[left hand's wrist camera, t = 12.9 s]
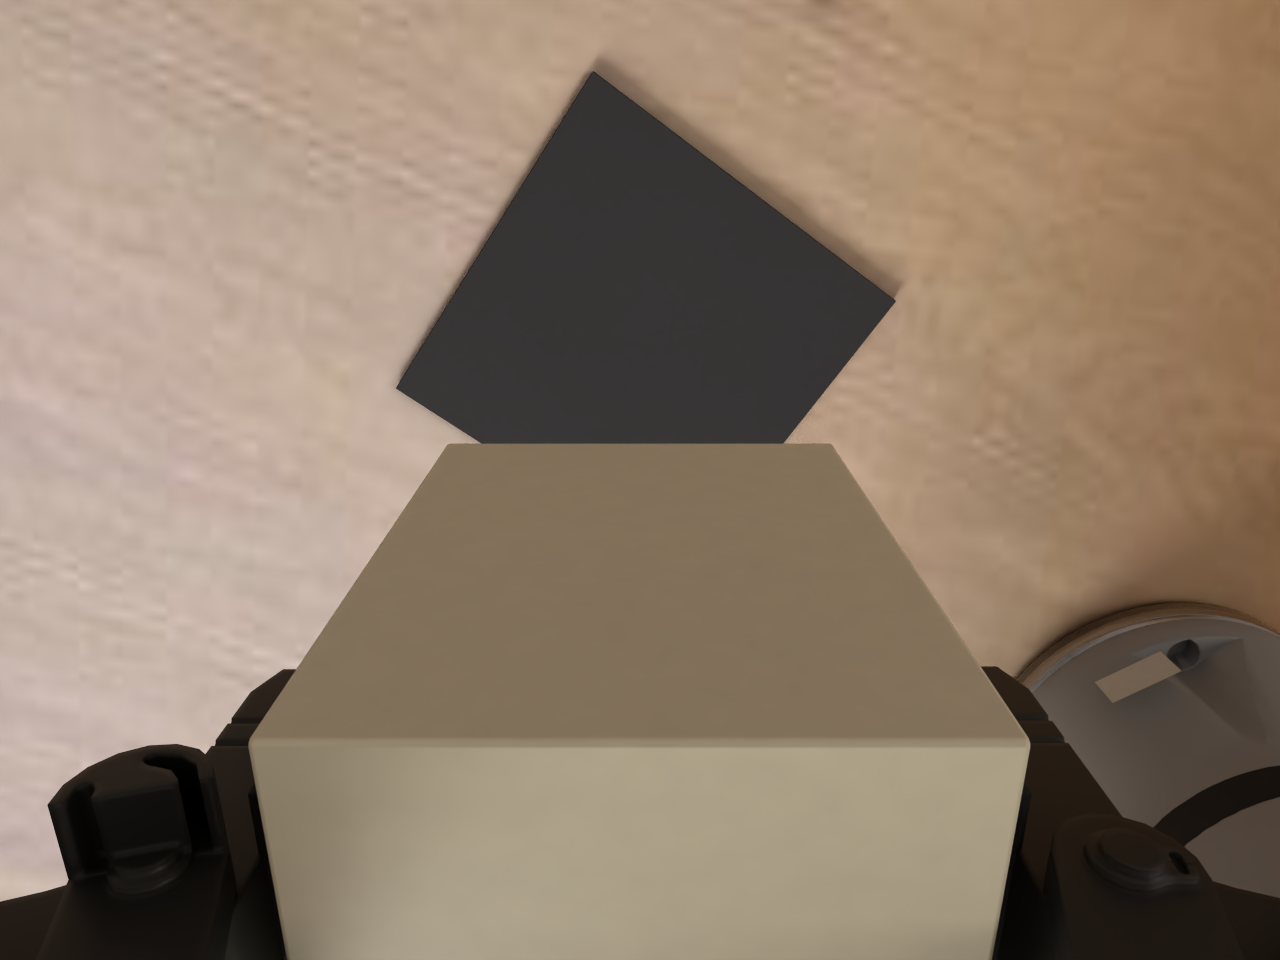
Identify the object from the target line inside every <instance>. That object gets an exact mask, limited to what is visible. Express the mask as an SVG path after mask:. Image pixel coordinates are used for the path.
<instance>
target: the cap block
mask: <svg viewBox="0 0 1280 960" xmlns="http://www.w3.org/2000/svg"><path fill="white" fill-rule="evenodd" d="M1029 751H1030V741H1029V738H1028V736H1027V735H1026V733H1025V732H1024V730H1023V729H1022V728H1021V726H1020V725H1019V723H1018V722H1017V720H1016V719H1015V717H1014V716H1013V714H1012V713H1011V711H1010V710H1009V708H1008V707H1007V705H1006V704H1005V702H1004V701H1003V699H1002V698H1001V696H1000V695H999V693H998V692H997V690H996V689H995V687H994V686H993V684H992V683H991V681H990V680H989V678H988V677H987V675H986V674H985V672H984V671H983V669H982V668H981V666H980V665H979V663H978V662H977V660H976V659H975V657H974V656H973V654H972V653H971V651H970V650H969V648H968V647H967V645H966V644H965V642H964V641H963V640H962V638H961V637H960V635H959V634H958V632H957V631H956V629H955V628H954V626H953V625H952V623H951V622H950V620H949V619H948V617H947V616H946V614H945V613H944V611H943V610H942V608H941V607H940V605H939V604H938V602H937V601H936V599H935V598H934V596H933V595H932V593H931V592H930V590H929V589H928V587H927V586H926V584H925V583H924V581H923V580H922V578H921V577H920V575H919V574H918V572H917V571H916V569H915V568H914V566H913V565H912V563H911V562H910V560H909V559H908V557H907V556H906V554H905V553H904V552H903V550H902V549H901V547H900V546H899V544H898V543H897V541H896V540H895V538H894V537H893V535H892V534H891V532H890V531H889V529H888V528H887V526H886V525H885V523H884V522H883V520H882V519H881V517H880V516H879V514H878V513H877V511H876V510H875V508H874V507H873V505H872V504H871V502H870V501H869V499H868V498H867V496H866V495H865V493H864V492H863V490H862V489H861V487H860V486H859V484H858V483H857V481H856V480H855V478H854V477H853V475H852V474H851V472H850V471H849V469H848V468H847V466H846V465H845V463H844V462H843V461H842V459H841V458H840V456H839V455H838V453H837V452H836V450H835V449H834V447H833V446H832V445H831V444H449V445H447V446H446V448H445V449H444V451H443V452H442V454H441V455H440V457H439V458H438V460H437V461H436V463H435V464H434V466H433V467H432V469H431V470H430V472H429V473H428V475H427V476H426V478H425V479H424V481H423V482H422V484H421V485H420V487H419V488H418V490H417V491H416V492H415V494H414V495H413V497H412V498H411V500H410V501H409V503H408V504H407V506H406V507H405V509H404V510H403V512H402V513H401V515H400V516H399V518H398V519H397V521H396V522H395V524H394V525H393V527H392V528H391V530H390V531H389V533H388V534H387V536H386V537H385V539H384V540H383V542H382V543H381V544H380V546H379V547H378V549H377V550H376V552H375V553H374V555H373V556H372V558H371V559H370V561H369V562H368V564H367V565H366V567H365V568H364V570H363V571H362V573H361V574H360V576H359V577H358V579H357V580H356V582H355V583H354V585H353V586H352V588H351V589H350V591H349V592H348V594H347V595H346V596H345V598H344V599H343V601H342V602H341V604H340V605H339V607H338V608H337V610H336V611H335V613H334V614H333V616H332V617H331V619H330V620H329V622H328V623H327V625H326V626H325V628H324V629H323V631H322V632H321V634H320V635H319V637H318V638H317V640H316V641H315V643H314V644H313V645H312V647H311V648H310V650H309V651H308V653H307V654H306V656H305V657H304V659H303V660H302V662H301V663H300V665H299V666H298V668H297V669H296V671H295V672H294V674H293V675H292V677H291V678H290V680H289V681H288V683H287V684H286V686H285V687H284V689H283V690H282V692H281V693H280V695H279V696H278V697H277V699H276V700H275V702H274V703H273V705H272V706H271V708H270V709H269V711H268V712H267V714H266V715H265V717H264V718H263V720H262V721H261V723H260V724H259V726H258V727H257V729H256V730H255V732H254V733H253V735H252V736H251V738H250V740H249V752H250V758H251V763H252V769H253V775H254V780H255V786H256V791H257V797H258V802H259V808H260V813H261V819H262V824H263V830H264V835H265V841H266V846H267V852H268V857H269V863H270V868H271V874H272V879H273V885H274V890H275V896H276V901H277V907H278V912H279V918H280V923H281V929H282V934H283V940H284V945H285V951H286V956H287V960H992V956H993V950H994V945H995V939H996V934H997V928H998V923H999V917H1000V912H1001V906H1002V901H1003V895H1004V889H1005V884H1006V878H1007V873H1008V867H1009V862H1010V856H1011V851H1012V845H1013V840H1014V834H1015V829H1016V823H1017V818H1018V812H1019V807H1020V801H1021V796H1022V790H1023V784H1024V779H1025V773H1026V768H1027V762H1028V757H1029Z"/></svg>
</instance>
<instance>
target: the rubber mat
mask: <svg viewBox="0 0 1280 960" xmlns="http://www.w3.org/2000/svg"><path fill="white" fill-rule="evenodd" d="M894 303H895V300H894V299H893V298H891V297H890V296H889V295H887V294H886V293H885V292H884V291H882V290H881V289H880V288H878V287H877V286H876V285H874V284H873V283H872V282H870V281H869V280H868V279H866V278H865V277H864V276H862V275H861V274H860V273H858V272H857V271H856V270H855V269H853V268H852V267H851V266H849V265H848V264H847V263H845V262H844V261H843V260H841V259H840V258H839V257H837V256H836V255H835V254H833V253H832V252H831V251H830V250H828V249H827V248H826V247H824V246H823V245H822V244H820V243H819V242H818V241H816V240H815V239H814V238H812V237H811V236H810V235H808V234H807V233H806V232H804V231H803V230H802V229H801V228H799V227H798V226H797V225H795V224H794V223H793V222H791V221H790V220H789V219H787V218H786V217H785V216H783V215H782V214H781V213H779V212H778V211H777V210H776V209H774V208H773V207H772V206H770V205H769V204H768V203H766V202H765V201H764V200H762V199H761V198H760V197H758V196H757V195H756V194H754V193H753V192H752V191H750V190H749V189H748V188H747V187H745V186H744V185H743V184H741V183H740V182H739V181H737V180H736V179H735V178H733V177H732V176H731V175H729V174H728V173H727V172H725V171H724V170H723V169H721V168H720V167H719V166H718V165H716V164H715V163H714V162H712V161H711V160H710V159H708V158H707V157H706V156H704V155H703V154H702V153H700V152H699V151H698V150H696V149H695V148H694V147H693V146H691V145H690V144H689V143H687V142H686V141H685V140H683V139H682V138H681V137H679V136H678V135H677V134H675V133H674V132H673V131H671V130H670V129H669V128H667V127H666V126H665V125H664V124H662V123H661V122H660V121H658V120H657V119H656V118H654V117H653V116H652V115H650V114H649V113H648V112H646V111H645V110H644V109H642V108H641V107H640V106H639V105H637V104H636V103H635V102H633V101H632V100H631V99H629V98H628V97H627V96H625V95H624V94H623V93H621V92H620V91H619V90H617V89H616V88H615V87H613V86H612V85H611V84H610V83H608V82H607V81H606V80H604V79H603V78H602V77H600V76H599V75H598V74H596V73H595V72H592V73H591V75H590V77H589V78H588V80H587V81H586V83H585V85H584V86H583V88H582V90H581V91H580V93H579V94H578V96H577V98H576V99H575V101H574V102H573V104H572V106H571V107H570V109H569V110H568V112H567V114H566V115H565V117H564V119H563V120H562V122H561V123H560V125H559V127H558V128H557V130H556V131H555V133H554V135H553V136H552V138H551V139H550V141H549V143H548V144H547V146H546V147H545V149H544V151H543V152H542V154H541V156H540V157H539V159H538V160H537V162H536V164H535V165H534V167H533V168H532V170H531V172H530V173H529V175H528V176H527V178H526V180H525V181H524V183H523V185H522V186H521V188H520V189H519V191H518V193H517V194H516V196H515V197H514V199H513V201H512V202H511V204H510V205H509V207H508V209H507V210H506V212H505V213H504V215H503V217H502V218H501V220H500V222H499V223H498V225H497V226H496V228H495V230H494V231H493V233H492V234H491V236H490V238H489V239H488V241H487V242H486V244H485V246H484V247H483V249H482V251H481V252H480V254H479V255H478V257H477V259H476V260H475V262H474V263H473V265H472V267H471V268H470V270H469V271H468V273H467V275H466V276H465V278H464V280H463V281H462V283H461V284H460V286H459V288H458V289H457V291H456V292H455V294H454V296H453V297H452V299H451V300H450V302H449V304H448V305H447V307H446V308H445V310H444V312H443V313H442V315H441V317H440V318H439V320H438V321H437V323H436V325H435V326H434V328H433V329H432V331H431V333H430V334H429V336H428V337H427V339H426V341H425V342H424V344H423V346H422V347H421V349H420V350H419V352H418V354H417V355H416V357H415V358H414V360H413V362H412V363H411V365H410V366H409V368H408V370H407V371H406V373H405V374H404V376H403V378H402V379H401V381H400V383H399V384H398V386H397V387H396V389H398V390H399V391H401V392H402V393H404V394H405V395H407V396H409V397H410V398H412V399H413V400H415V401H416V402H418V403H419V404H421V405H423V406H424V407H426V408H427V409H429V410H430V411H432V412H433V413H435V414H437V415H438V416H440V417H441V418H443V419H444V420H446V421H448V422H449V423H451V424H452V425H454V426H455V427H457V428H458V429H460V430H462V431H463V432H465V433H466V434H468V435H469V436H471V437H472V438H474V439H476V440H477V441H479V442H480V443H482V444H783V443H784V442H785V441H786V439H787V438H788V437H789V436H790V434H791V433H792V432H793V430H794V429H795V428H796V427H797V425H798V424H799V423H800V422H801V420H802V419H803V418H804V417H805V415H806V414H807V413H808V412H809V410H810V409H811V408H812V406H813V405H814V404H815V403H816V401H817V400H818V399H819V398H820V396H821V395H822V394H823V393H824V391H825V390H826V389H827V388H828V386H829V385H830V384H831V382H832V381H833V380H834V379H835V377H836V376H837V375H838V374H839V372H840V371H841V370H842V369H843V367H844V366H845V365H846V364H847V362H848V361H849V360H850V358H851V357H852V356H853V355H854V353H855V352H856V351H857V350H858V348H859V347H860V346H861V345H862V343H863V342H864V341H865V340H866V338H867V337H868V336H869V334H870V333H871V332H872V331H873V329H874V328H875V327H876V326H877V324H878V323H879V322H880V321H881V319H882V318H883V317H884V316H885V314H886V313H887V312H888V310H889V309H890V308H891V307H892V305H893V304H894Z"/></svg>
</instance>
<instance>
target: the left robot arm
mask: <svg viewBox="0 0 1280 960" xmlns="http://www.w3.org/2000/svg"><path fill="white" fill-rule="evenodd" d="M981 668H982V669H983V671H984V672H985V674H986V675H987V677H988V678H989V680H990V681H991V683H992V684H993V686H994V687H995V689H996V690H997V692H998V693H999V695H1000V696H1001V698H1002V699H1003V701H1004V702H1005V704H1006V705H1007V707H1008V708H1009V710H1010V711H1011V713H1012V714H1013V716H1014V717H1015V719H1016V720H1017V722H1018V723H1019V725H1020V726H1021V728H1022V729H1023V730H1024V732H1025V733H1026V735H1027V736H1028V738H1029V741H1030V751H1029V757H1028V762H1027V768H1026V773H1025V779H1024V784H1023V790H1022V796H1021V801H1020V807H1019V812H1018V818H1017V823H1016V829H1015V834H1014V840H1013V845H1012V851H1011V856H1010V862H1009V867H1008V873H1007V878H1006V884H1005V889H1004V895H1003V901H1002V906H1001V912H1000V917H999V923H998V928H997V934H996V939H995V945H994V950H993V956H992V960H1280V634H1279V633H1278V632H1277V631H1275V630H1274V629H1272V628H1271V627H1269V626H1268V625H1266V624H1264V623H1263V622H1261V621H1259V620H1257V619H1255V618H1253V617H1251V616H1249V615H1246V614H1243V613H1241V612H1238V611H1235V610H1232V609H1228V608H1224V607H1220V606H1214V605H1208V604H1199V603H1165V604H1156V605H1149V606H1143V607H1138V608H1133V609H1130V610H1126V611H1122V612H1119V613H1116V614H1113V615H1110V616H1107V617H1105V618H1102V619H1099V620H1097V621H1095V622H1093V623H1090V624H1088V625H1086V626H1084V627H1082V628H1080V629H1078V630H1077V631H1075V632H1073V633H1071V634H1069V635H1068V636H1066V637H1065V638H1063V639H1062V640H1060V641H1059V642H1057V643H1056V644H1054V645H1053V646H1051V647H1050V648H1049V649H1048V650H1046V651H1045V652H1044V653H1043V654H1041V655H1040V656H1039V657H1038V658H1037V659H1036V660H1035V661H1034V662H1032V663H1031V664H1030V665H1029V666H1028V667H1027V668H1026V669H1025V670H1024V671H1023V673H1022V674H1021V675H1020V676H1019V677H1018V678H1017V679H1016V680H1015V679H1014V678H1012V677H1011V676H1009V675H1008V674H1006V673H1005V672H1004V671H1002V670H1001V669H999V668H998V667H981ZM295 671H296V669H283V670H282V671H280V672H279V673H277V674H276V675H275V676H273V677H272V678H270V679H269V680H267V681H266V682H265V683H263V684H262V685H260V686H259V687H257V688H256V689H255V690H253V691H252V692H251V693H250V694H249V695H248V697H247V698H246V699H245V701H244V702H243V704H242V705H241V706H240V708H239V709H238V710H237V712H236V713H235V715H234V716H233V717H232V722H231V724H227V726H226V727H225V728H224V730H223V731H222V732H221V734H220V735H219V737H218V738H217V739H216V744H215V746H211V748H210V749H209V750H208V752H207V753H206V754H204V753H203V752H202V751H201V750H200V749H196V748H192V747H188V746H183V745H179V744H170V745H151V746H146V747H142V748H138V749H134V750H130V751H126V752H122V753H118V754H116V755H114V756H112V757H109V758H107V759H105V760H103V761H101V762H98V763H96V764H94V765H92V766H90V767H88V768H86V769H85V770H83V771H82V772H81V773H79V774H78V775H76V776H75V777H74V778H72V779H71V780H69V781H68V782H67V783H65V784H64V785H63V786H62V787H61V788H60V790H59V791H58V792H57V793H56V795H55V796H54V797H53V799H52V800H51V801H50V802H49V804H48V808H49V812H50V815H51V819H52V822H53V826H54V830H55V833H56V837H57V840H58V844H59V847H60V851H61V854H62V858H63V861H64V865H65V868H66V872H67V876H68V879H69V880H68V883H67V885H65V886H62V887H58V888H55V889H52V890H48V891H45V892H40V893H36V894H32V895H27V896H23V897H19V898H14V899H10V900H6V901H1V902H0V960H287V956H286V951H285V945H284V940H283V934H282V929H281V923H280V918H279V912H278V907H277V901H276V896H275V890H274V885H273V879H272V874H271V868H270V863H269V857H268V852H267V846H266V841H265V835H264V830H263V824H262V819H261V813H260V808H259V802H258V797H257V791H256V786H255V780H254V775H253V769H252V763H251V758H250V752H249V740H250V738H251V736H252V735H253V733H254V732H255V730H256V729H257V727H258V726H259V724H260V723H261V721H262V720H263V718H264V717H265V715H266V714H267V712H268V711H269V709H270V708H271V706H272V705H273V703H274V702H275V700H276V699H277V697H278V696H279V695H280V693H281V692H282V690H283V689H284V687H285V686H286V684H287V683H288V681H289V680H290V678H291V677H292V675H293V674H294V672H295Z"/></svg>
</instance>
